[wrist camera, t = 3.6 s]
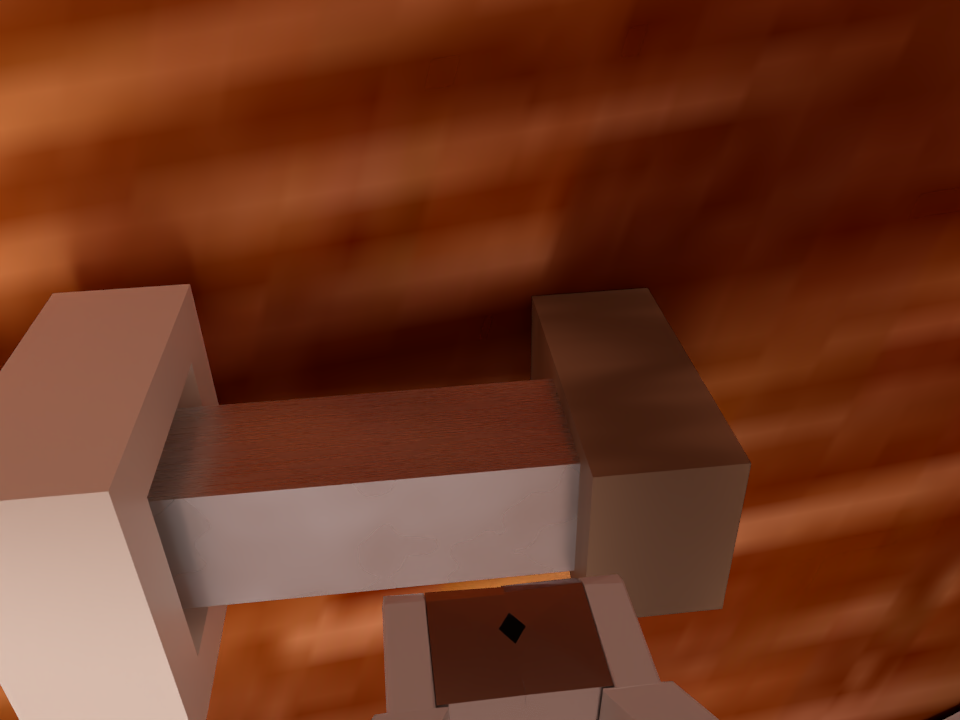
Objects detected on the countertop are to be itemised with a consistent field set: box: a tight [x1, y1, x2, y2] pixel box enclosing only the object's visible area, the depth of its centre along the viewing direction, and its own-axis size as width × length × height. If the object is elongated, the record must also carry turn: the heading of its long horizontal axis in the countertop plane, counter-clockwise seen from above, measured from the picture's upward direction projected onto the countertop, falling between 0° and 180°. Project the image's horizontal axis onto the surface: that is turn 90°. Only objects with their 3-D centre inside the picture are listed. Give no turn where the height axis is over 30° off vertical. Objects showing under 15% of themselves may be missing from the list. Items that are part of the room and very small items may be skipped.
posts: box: [531, 288, 751, 617], centre depth 18 cm, size 30×4×7 cm, turn 91°
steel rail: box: [147, 379, 580, 609], centre depth 18 cm, size 28×3×3 cm, turn 91°
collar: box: [0, 284, 227, 720], centre depth 18 cm, size 3×7×7 cm, turn 1°
